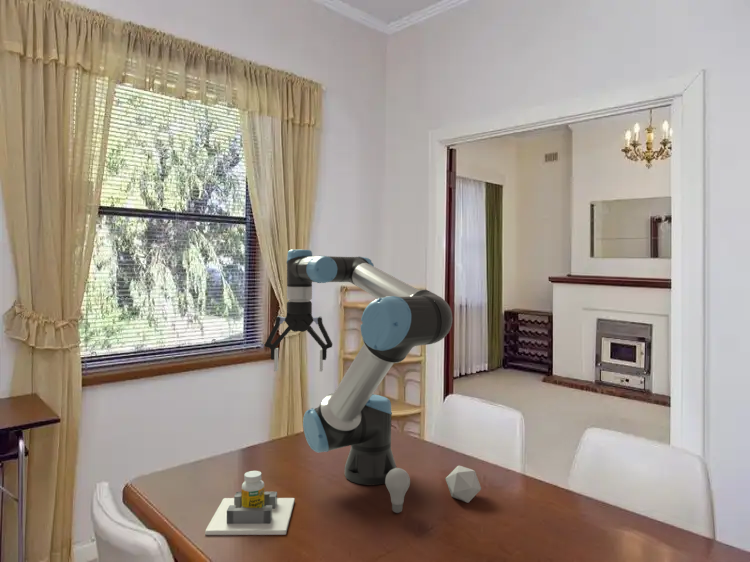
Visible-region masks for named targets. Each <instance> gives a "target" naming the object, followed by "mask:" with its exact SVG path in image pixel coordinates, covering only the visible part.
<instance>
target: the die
mask: <svg viewBox="0 0 750 562" xmlns="http://www.w3.org/2000/svg"><path fill="white" fill-rule="evenodd" d="M477 475H478V474H477V473H476V471H475V470H473V469H471V468H468V467H465V466H462V465H457V466H456V467H455V468H454V469H453V470H452V471H451V472H450V473H449V474H448V475H447V476H446V477H445V482H446V484H447V488H448V490H449V493H450V497H452V498H454V499H457V500H459V501H461V502H464V503H470V501H472V500H473V498H475V496H476V495H477V494H479V492H480V491H481V490H482V487H481V484H480V482H479V478H478V476H477Z"/></svg>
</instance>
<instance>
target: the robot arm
mask: <svg viewBox="0 0 750 562" xmlns="http://www.w3.org/2000/svg"><path fill="white" fill-rule="evenodd" d="M286 259H287V260H286V299H287V300H288V301H286V315H285V316H280V315H278V316H276V317H275V322H274V323H275V324H274V326H273V328H272V329H271V332H270V334H269V335H268V337H267V339H266V341H265V343H264V347H265V348H269V349H270V359H271V360H273V361H274V362H273V363H274V364H273V365H274V369H273V371H274V372H277V371H279V347H277V346H278V345H279V344H280V343H281V342H282V341H283V339H284V338H285V337H286V336H287V335H288V333H290V331H292V332H294V333H297V332H301V333H302V332H303V333H304V332H307V333H309V335H310V336H311V337H312V338H313V339H314V341H315V342H316V343H317V344H318V345H319V346H320V348H319V372H321V373H322V372H323V370H324V369H323V368H324V366H323V365H324V361H326V360H327V353H328V351H327V350H328V349H330V348H333V341H332V340H331V338H330V335H329V333H328V331H327V330H326V328H325V326H324V324H323V317H322V316H318V317H313V315H312V314H313V313H312V312H313V311H312V310H313V307H312V306H313V302H312V301H311V300H312V299H313V283H317V284H326V283H351V284H352V285H354V286H356V287H358V288H359V289H361V290H362V291H364V292H366V293H367V294H369V295H371V296H372V297H374V298H376V299H373V300H372V301H371V302H369V304H368V305H367V306H366V307H365V308H364V310H363V313H362V316H361V318H360V320H361V322H362V324H360V334H361V337H362V342H363V345H362V346H361V348H360V349H359V351H358V353H356V356H355V357H354V358H353V361H352V362H351V364H350V366H349V367H348V369H347V371H346V372H345V374H344V375H343V377H342V378H341V380H340V383H338V385H337V387H336V389H335V390H334V392H333V393H330V394H327V395H326V396H325V397H324V398H323V399H322V401H321V403H320V404H319V406H318V407H315V408H314V407H311V408H310V409H309V408H308V409H307V410H306V411H305V413H304V414H303V418H302V420H303V421H302V426H303V427H302V428H303V433H304V437H305V439H306V442H307V444H308V446H309V447H310V449H311V450H312V451H314V452H315V453H318V454H320V453H324V452H325V453H328V452H330V451H333V450H334V451H335V450H338V449H341V448H345V447H349V446H350V450H349V453H348V456H347V458H346V462H345V463H344V464H345V465H344V476H345V479H347V480H348V481H349V482H352V483H354V484H359V485H364V486H379V485H384V484H385V485H386V483H385V479H386V475H387V474H388V472H389V471H390V470H392V469H394V468H397V464H396V461H395V458H394V455H393V454H394V453H393V451H392V445H391V443H392V416H393V411H392V402H391V400H390V399H389V398H388V397H386V396H383V395H379V394H374V393H375V392H376V390H377V388H378V387H379V386H380V384H381V383H382V381H383V380H384V378H385V377H386V376H387V374H388V372H389V371H390V369H391V368H392V367H393V366H394V364H399V363H401V362H403V361H404V360H405V359H406V357H407V356H408V355H409V353H410V351H412V349H413V348H414V347H417V346H426V345H432V344H436V343H439V342H441V340H443V339H444V338H445V337H446V336H447V335H448V334H449V333H450V331H451V328H452V325H453V312H452V308H451V306H450V305H449V303H448V302H447V301H446V300H445V299H444V298H442V297H441V296H439V295H438V294H436V293H434V292H432V291H431V290H428V289H418V288H416V287H414V286H412V285H410V284H408V283H406V282H404V281H402V280H401V279H398V278H397V277H395V276H392V275H391V274H389V273H387V272H385V271H383V270H381V269H379V268H377V267H376V266H374V263H373V262H372V260H371V259H370V258H369V257H363V256H331V255H330V256H329V255H328V256H327V255H313V252H312V250H311V249H290V250H288V251H287V256H286ZM284 322H285V324H286V325H287V327H286V328H285V329H284V331H283V332H281V334H280V335H279V336H278V338H277V339H276V340H275V341H274V342H273V343H272V341H273V340H274V338H275V336H276V335H277V334H276V333H277V331H278V330H279V327H280V326H281V324H283V323H284ZM313 322H315V324H316V325H317V326H318V328H319V330H320V332H321V335H322V336H323V338H324V340H325V342H324V341H323V339H322V338H321V337H320V336H319V335H318V333H316V331H315V330H314V329H313V327H312V326H311V325H312V324H313Z"/></svg>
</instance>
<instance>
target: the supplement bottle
mask: <svg viewBox="0 0 750 562" xmlns="http://www.w3.org/2000/svg"><path fill="white" fill-rule="evenodd" d="M243 477H244V478H243V480H244V481H243V483H242V484H241V492H242V508H264V492H265V482H264V480H262V472H261V471H260V470H250V471H246V472H245V473H244V474H243Z"/></svg>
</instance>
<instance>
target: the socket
mask: <svg viewBox="0 0 750 562" xmlns="http://www.w3.org/2000/svg"><path fill="white" fill-rule="evenodd" d="M294 504H295V497H278V491H264V508H242V491H236V493H235V494H234V496H233V497H224V498H222V500H221V503H220V504H219V506H218V507H217V509H216V510H215V513H214V514H213V516H212V518H211V520H210V521H209V523H208V525H207V526H206V529H205V530H204V532H205V533H204V536H232V535H233V536H238V535H239V536H240V535H241V536H242V535H243V536H244V535H247V536H250V535H253V536H257V535H260V536H265V535H266V536H268V535H269V536H270V535H272V536H273V535H277V536H278V535H281V536H282V535H287V531H288V528H289V524H290V522H291V521H290V520H291V516H292V513H293V508H294V506H295V505H294Z"/></svg>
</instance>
